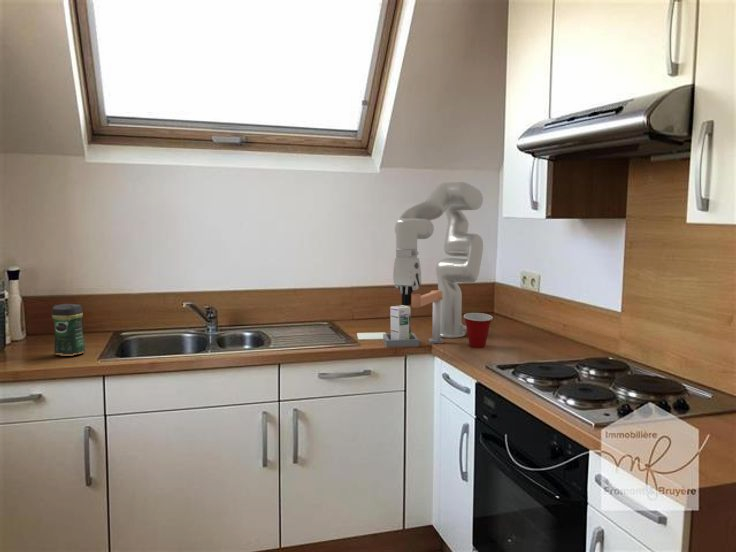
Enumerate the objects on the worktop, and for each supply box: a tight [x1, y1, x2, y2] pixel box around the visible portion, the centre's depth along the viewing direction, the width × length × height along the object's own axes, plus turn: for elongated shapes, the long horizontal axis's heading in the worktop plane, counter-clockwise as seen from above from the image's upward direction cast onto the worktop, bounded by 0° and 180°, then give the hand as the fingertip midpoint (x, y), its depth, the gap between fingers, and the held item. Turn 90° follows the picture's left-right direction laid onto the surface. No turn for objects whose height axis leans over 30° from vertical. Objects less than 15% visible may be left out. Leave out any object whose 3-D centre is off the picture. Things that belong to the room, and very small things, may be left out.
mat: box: [356, 331, 387, 341], centre depth 239 cm, size 12×12×1 cm
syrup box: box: [389, 304, 412, 340], centre depth 226 cm, size 6×6×14 cm
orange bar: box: [411, 289, 442, 309], centre depth 217 cm, size 25×4×5 cm, turn 153°
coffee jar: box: [51, 303, 86, 354], centre depth 210 cm, size 10×8×19 cm
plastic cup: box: [463, 312, 494, 349], centre depth 219 cm, size 11×11×12 cm
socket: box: [382, 300, 445, 348], centre depth 226 cm, size 23×12×16 cm, turn 94°
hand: (406, 304), depth 210 cm, fingers closed
